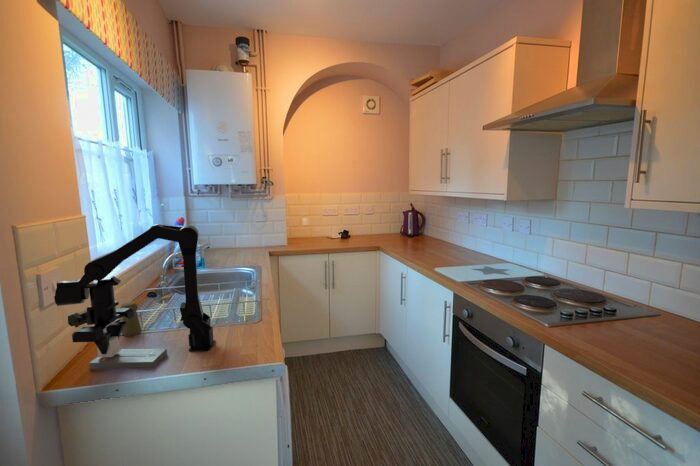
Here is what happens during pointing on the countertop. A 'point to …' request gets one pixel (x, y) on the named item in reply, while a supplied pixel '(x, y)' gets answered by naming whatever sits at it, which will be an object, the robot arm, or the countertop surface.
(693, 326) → the countertop surface
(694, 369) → the countertop surface
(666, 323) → the countertop surface
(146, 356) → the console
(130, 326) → the cork
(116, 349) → the block
